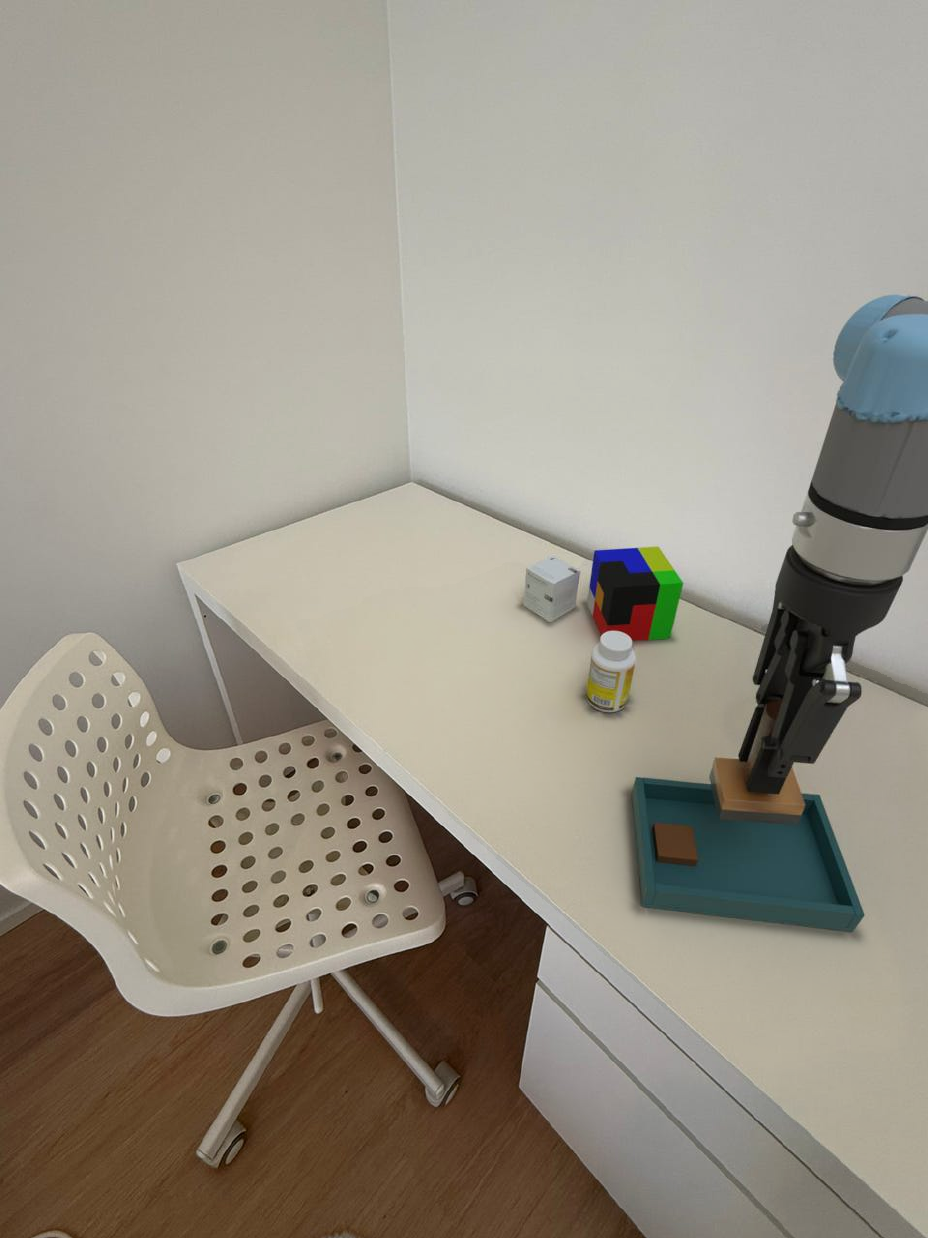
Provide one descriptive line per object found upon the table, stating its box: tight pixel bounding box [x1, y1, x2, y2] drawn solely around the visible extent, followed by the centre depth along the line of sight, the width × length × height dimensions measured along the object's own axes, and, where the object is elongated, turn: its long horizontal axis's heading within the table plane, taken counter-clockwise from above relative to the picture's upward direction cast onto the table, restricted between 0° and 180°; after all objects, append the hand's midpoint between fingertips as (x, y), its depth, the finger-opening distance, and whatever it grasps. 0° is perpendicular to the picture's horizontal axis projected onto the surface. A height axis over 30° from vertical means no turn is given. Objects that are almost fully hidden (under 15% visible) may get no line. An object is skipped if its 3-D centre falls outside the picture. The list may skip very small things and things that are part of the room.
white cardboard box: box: [522, 555, 581, 623], centre depth 101 cm, size 6×6×7 cm
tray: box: [631, 776, 866, 933], centre depth 67 cm, size 20×14×3 cm
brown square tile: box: [652, 823, 698, 866], centre depth 67 cm, size 4×4×1 cm
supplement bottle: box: [585, 631, 637, 713], centre depth 83 cm, size 6×6×10 cm
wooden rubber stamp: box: [708, 701, 805, 825], centre depth 59 cm, size 7×5×12 cm
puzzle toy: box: [586, 546, 684, 642], centre depth 97 cm, size 10×10×10 cm
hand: (758, 774), depth 60 cm, fingers closed on wooden rubber stamp, 3 cm apart
